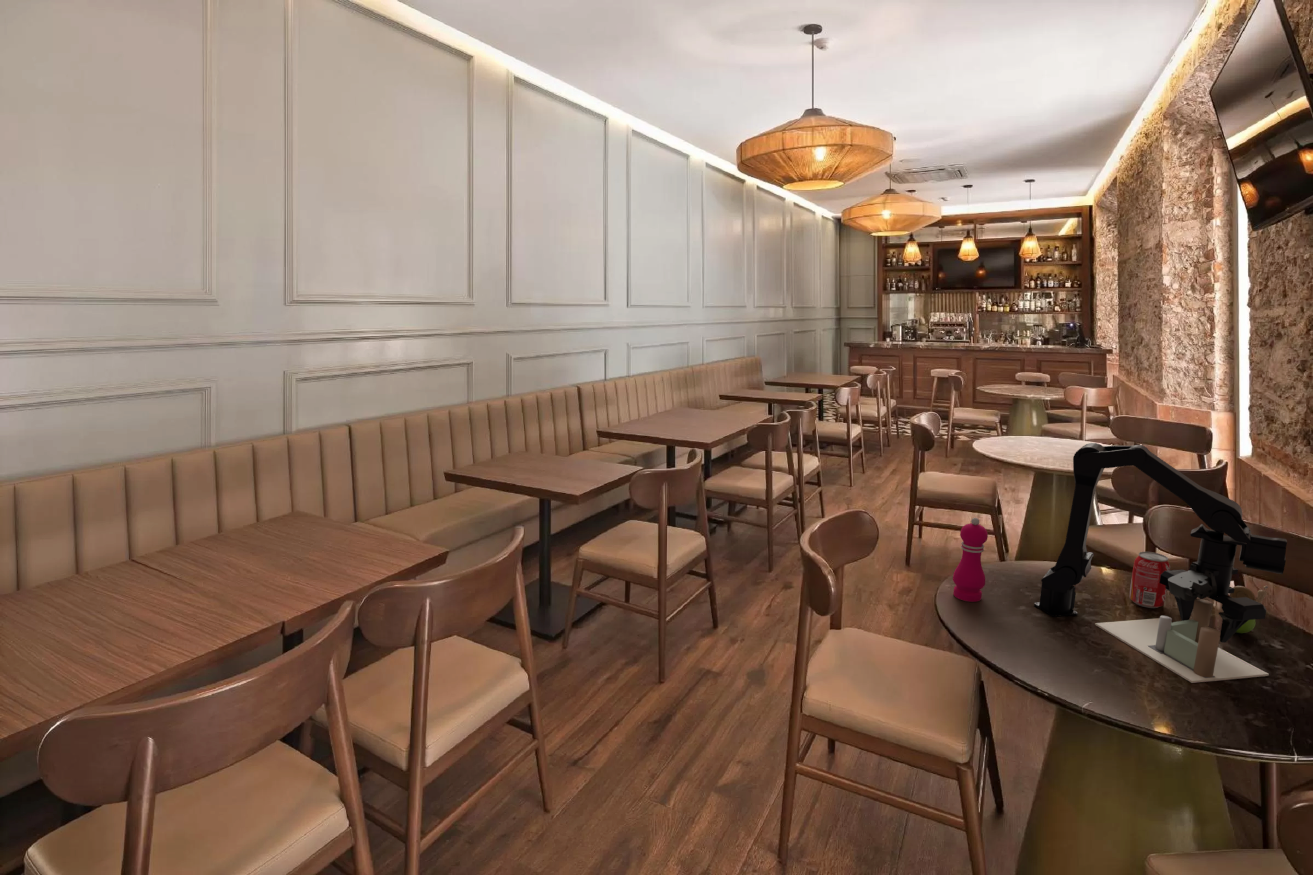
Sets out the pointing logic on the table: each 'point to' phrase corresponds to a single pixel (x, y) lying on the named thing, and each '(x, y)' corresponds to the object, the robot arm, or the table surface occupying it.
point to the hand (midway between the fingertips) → (1203, 632)
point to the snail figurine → (1245, 592)
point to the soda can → (1149, 580)
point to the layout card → (1144, 641)
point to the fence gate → (1195, 620)
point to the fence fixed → (1189, 647)
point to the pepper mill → (970, 563)
